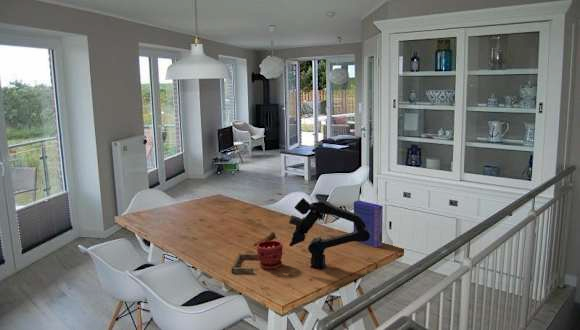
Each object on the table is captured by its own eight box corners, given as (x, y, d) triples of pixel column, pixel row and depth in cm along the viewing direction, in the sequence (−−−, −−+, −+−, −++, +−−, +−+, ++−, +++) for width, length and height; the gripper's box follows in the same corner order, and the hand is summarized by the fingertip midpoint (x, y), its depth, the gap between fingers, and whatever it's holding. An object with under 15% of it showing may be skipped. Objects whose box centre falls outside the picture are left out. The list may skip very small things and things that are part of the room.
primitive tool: (260, 247, 271) (260, 241, 270) (252, 246, 273) (252, 240, 273) (276, 237, 287) (276, 232, 287) (268, 236, 290) (268, 231, 289)
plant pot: (285, 262, 247) (285, 240, 245) (278, 271, 234) (278, 249, 232) (262, 260, 250) (261, 238, 248) (254, 269, 237) (253, 247, 235)
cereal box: (382, 245, 269) (382, 205, 264) (376, 247, 265) (377, 207, 261) (358, 238, 281) (359, 200, 277) (353, 240, 278) (353, 201, 274)
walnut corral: (258, 258, 253) (258, 254, 252) (252, 273, 233) (252, 268, 232) (239, 258, 253) (238, 253, 253) (231, 273, 233) (231, 268, 233)
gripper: (299, 205, 246) (281, 227, 249) (295, 215, 227) (275, 238, 231) (315, 218, 246) (297, 240, 249) (313, 229, 227) (293, 252, 231)
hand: (291, 242), depth 240 cm, fingers open, 9 cm apart
